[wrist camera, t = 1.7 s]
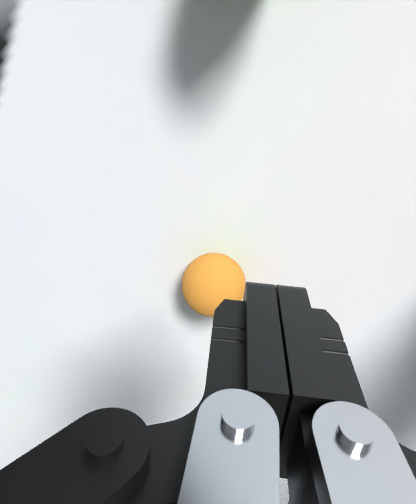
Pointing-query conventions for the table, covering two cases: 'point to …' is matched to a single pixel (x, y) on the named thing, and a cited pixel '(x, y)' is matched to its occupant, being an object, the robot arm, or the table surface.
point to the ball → (212, 282)
